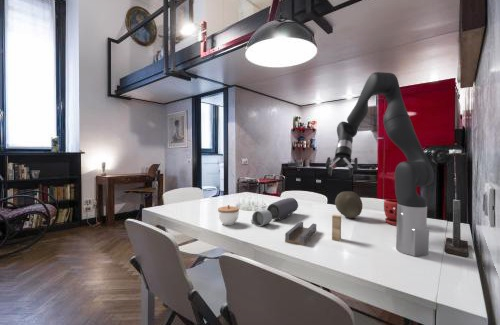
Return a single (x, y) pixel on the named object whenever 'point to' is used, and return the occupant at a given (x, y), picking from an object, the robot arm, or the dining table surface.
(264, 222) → the ceramic mug
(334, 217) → the light brown wooden block
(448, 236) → the dining table surface
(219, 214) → the lidded jar
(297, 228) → the door track
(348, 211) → the cantaloupe
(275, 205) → the bluetooth speaker
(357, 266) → the dining table surface
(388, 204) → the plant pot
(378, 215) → the dining table surface
